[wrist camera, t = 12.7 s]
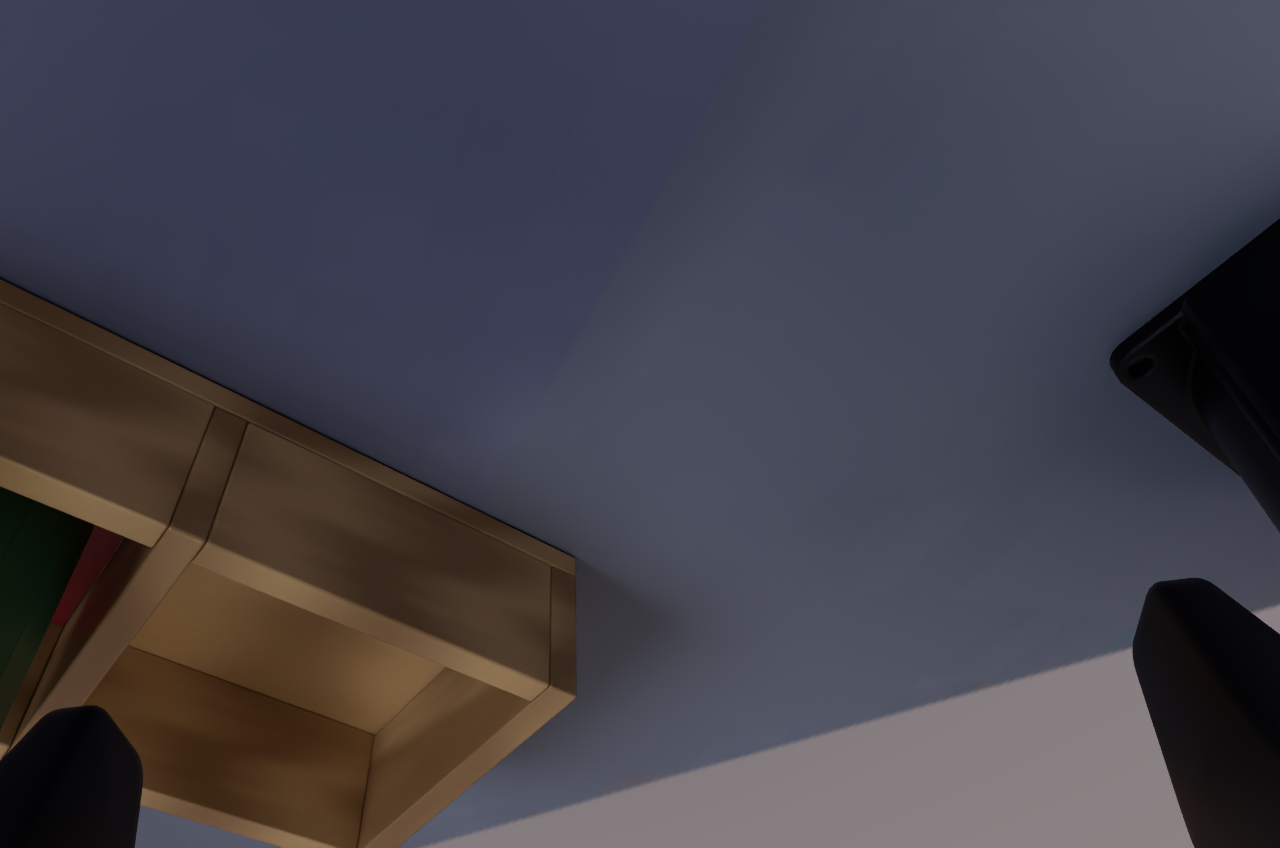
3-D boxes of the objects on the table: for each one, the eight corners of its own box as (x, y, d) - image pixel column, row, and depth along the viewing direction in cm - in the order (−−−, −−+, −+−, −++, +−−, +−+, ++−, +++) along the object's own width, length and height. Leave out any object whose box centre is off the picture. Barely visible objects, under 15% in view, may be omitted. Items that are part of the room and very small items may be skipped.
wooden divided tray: (576, 557, 26) (577, 698, 23) (387, 735, 30) (367, 874, 27) (-232, 164, 19) (-390, 294, 15) (-330, 474, 23) (-468, 624, 20)
